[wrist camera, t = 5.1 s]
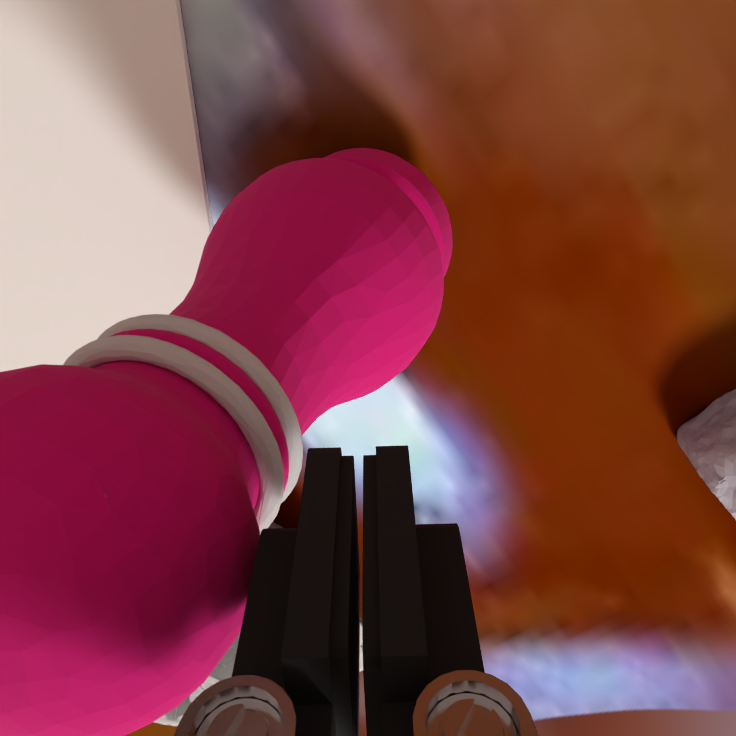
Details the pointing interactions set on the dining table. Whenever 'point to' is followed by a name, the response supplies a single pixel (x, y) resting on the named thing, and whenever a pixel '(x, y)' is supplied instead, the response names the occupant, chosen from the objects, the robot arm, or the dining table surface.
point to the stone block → (714, 447)
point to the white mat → (94, 172)
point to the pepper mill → (197, 438)
